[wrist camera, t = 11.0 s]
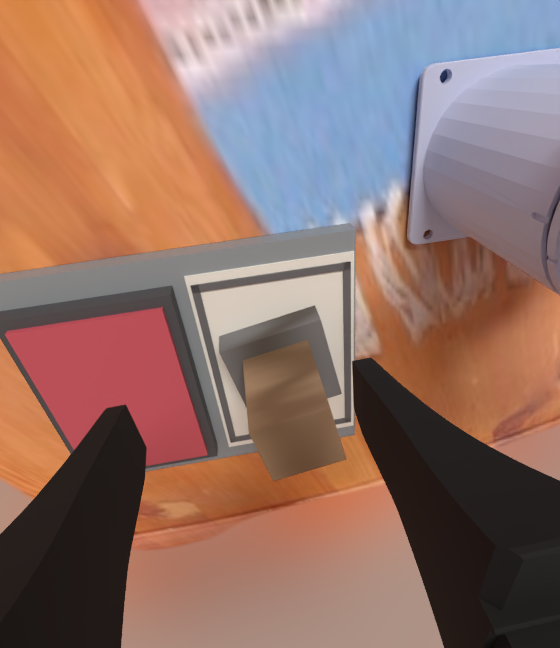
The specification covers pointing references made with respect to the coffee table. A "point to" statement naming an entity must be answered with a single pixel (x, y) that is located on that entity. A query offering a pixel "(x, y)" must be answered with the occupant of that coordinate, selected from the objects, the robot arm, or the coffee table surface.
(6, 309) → the stamp board
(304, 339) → the stamp
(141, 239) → the coffee table surface
